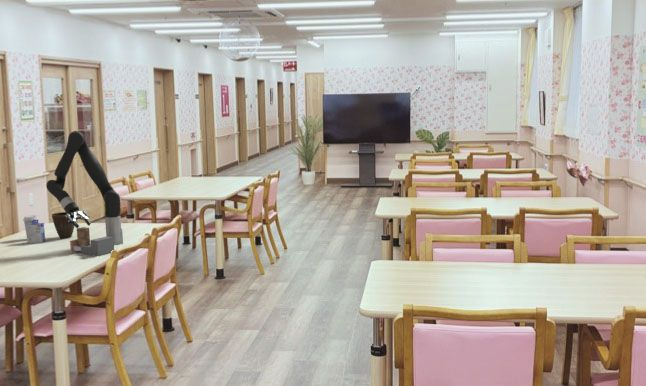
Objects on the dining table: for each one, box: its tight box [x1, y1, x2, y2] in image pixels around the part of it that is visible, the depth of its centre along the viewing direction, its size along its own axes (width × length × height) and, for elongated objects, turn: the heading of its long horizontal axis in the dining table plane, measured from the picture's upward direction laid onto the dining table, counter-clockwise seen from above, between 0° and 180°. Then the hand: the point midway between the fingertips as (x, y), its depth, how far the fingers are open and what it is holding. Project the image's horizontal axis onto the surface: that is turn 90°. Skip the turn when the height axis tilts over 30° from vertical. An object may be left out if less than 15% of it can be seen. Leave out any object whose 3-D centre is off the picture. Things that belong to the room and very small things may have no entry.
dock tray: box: [69, 238, 91, 252], centre depth 434 cm, size 10×11×6 cm
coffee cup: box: [22, 214, 39, 236], centre depth 476 cm, size 10×10×15 cm
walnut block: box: [76, 226, 91, 247], centre depth 433 cm, size 5×5×12 cm
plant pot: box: [51, 211, 75, 240], centre depth 478 cm, size 15×15×16 cm
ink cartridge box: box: [25, 219, 46, 244], centre depth 464 cm, size 10×6×14 cm, turn 89°
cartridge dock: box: [80, 235, 115, 257], centre depth 428 cm, size 15×12×9 cm
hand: (83, 225), depth 432 cm, fingers open, 8 cm apart
